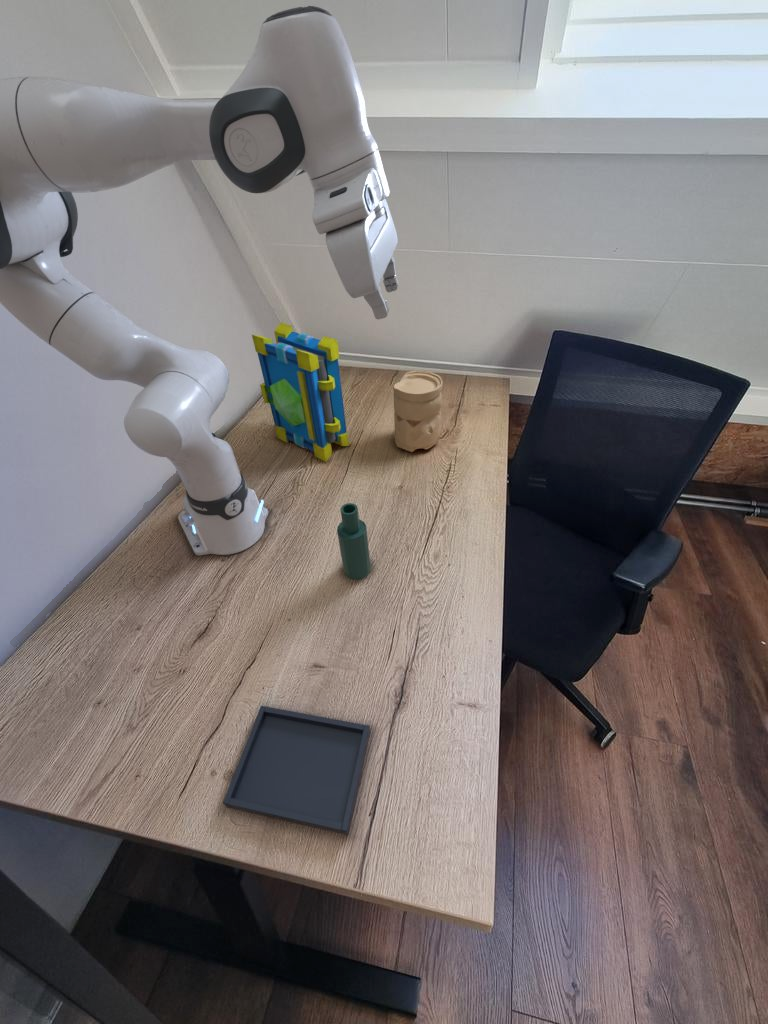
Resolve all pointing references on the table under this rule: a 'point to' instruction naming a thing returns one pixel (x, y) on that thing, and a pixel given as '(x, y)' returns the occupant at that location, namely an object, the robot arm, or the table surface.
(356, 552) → the flask
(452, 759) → the table surface
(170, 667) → the table surface
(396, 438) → the container
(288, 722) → the tray
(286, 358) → the decorative book
